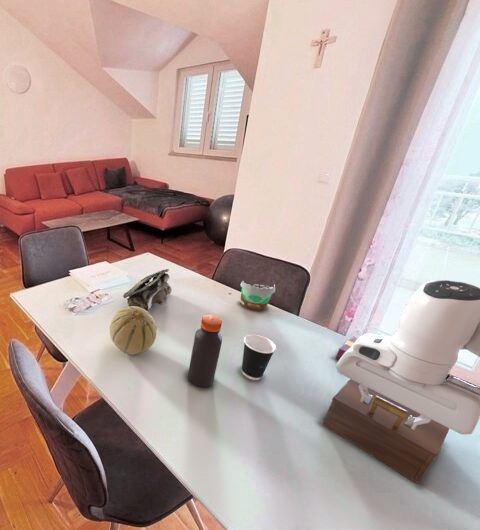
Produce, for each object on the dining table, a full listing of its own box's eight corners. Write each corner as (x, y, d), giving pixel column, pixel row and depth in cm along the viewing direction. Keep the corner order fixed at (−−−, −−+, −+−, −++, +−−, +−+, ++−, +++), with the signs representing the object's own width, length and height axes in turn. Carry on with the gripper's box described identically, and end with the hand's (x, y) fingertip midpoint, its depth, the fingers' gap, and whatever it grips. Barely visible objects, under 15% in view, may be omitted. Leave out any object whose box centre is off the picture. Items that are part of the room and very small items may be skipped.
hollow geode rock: (130, 328, 119) (157, 314, 108) (111, 300, 121) (136, 284, 110) (165, 298, 138) (191, 284, 127) (148, 274, 140) (172, 258, 129)
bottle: (182, 374, 90) (192, 316, 82) (200, 368, 93) (211, 310, 85) (199, 391, 84) (212, 329, 76) (218, 383, 87) (232, 323, 79)
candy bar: (364, 353, 99) (369, 342, 97) (351, 366, 93) (355, 355, 91) (348, 346, 102) (353, 335, 100) (334, 359, 96) (339, 348, 94)
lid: (435, 458, 59) (447, 440, 57) (331, 400, 71) (339, 383, 69) (455, 414, 67) (466, 397, 65) (360, 369, 80) (367, 354, 78)
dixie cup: (236, 361, 95) (244, 331, 91) (266, 369, 92) (275, 339, 87) (235, 378, 89) (243, 347, 84) (267, 388, 85) (277, 355, 81)
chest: (417, 484, 62) (436, 456, 59) (321, 424, 75) (333, 398, 72) (437, 441, 71) (455, 415, 68) (348, 394, 83) (359, 369, 80)
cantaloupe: (121, 329, 110) (123, 292, 104) (161, 344, 103) (166, 305, 97) (99, 352, 99) (101, 312, 93) (142, 371, 91) (147, 328, 85)
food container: (238, 309, 122) (243, 287, 118) (236, 302, 128) (241, 280, 123) (273, 314, 119) (280, 291, 115) (269, 306, 124) (276, 284, 120)
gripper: (503, 388, 53) (463, 444, 59) (356, 329, 69) (335, 378, 74) (498, 405, 50) (456, 462, 56) (344, 339, 66) (324, 389, 71)
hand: (386, 413), depth 65 cm, fingers open, 6 cm apart
